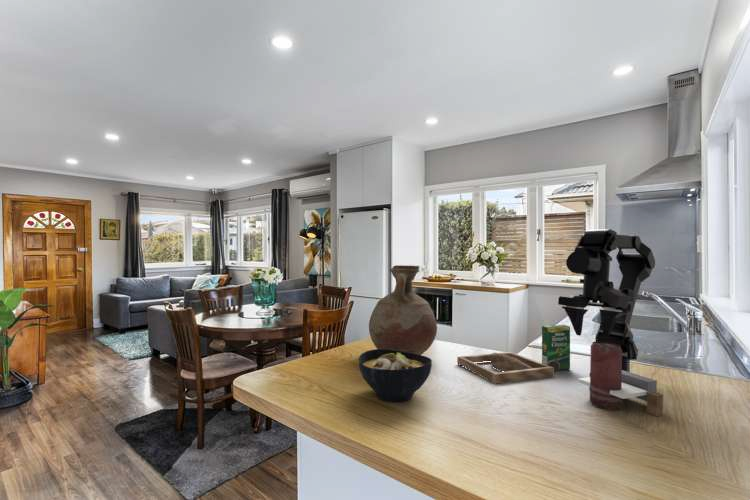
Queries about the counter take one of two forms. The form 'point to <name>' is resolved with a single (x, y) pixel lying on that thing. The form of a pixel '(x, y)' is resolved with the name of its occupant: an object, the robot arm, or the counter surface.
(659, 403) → the frame
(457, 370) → the counter surface
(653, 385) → the trapdoor
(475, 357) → the wooden tray
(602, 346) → the can
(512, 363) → the oyster shell
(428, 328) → the jug
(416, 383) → the bowl
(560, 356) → the coffee box
